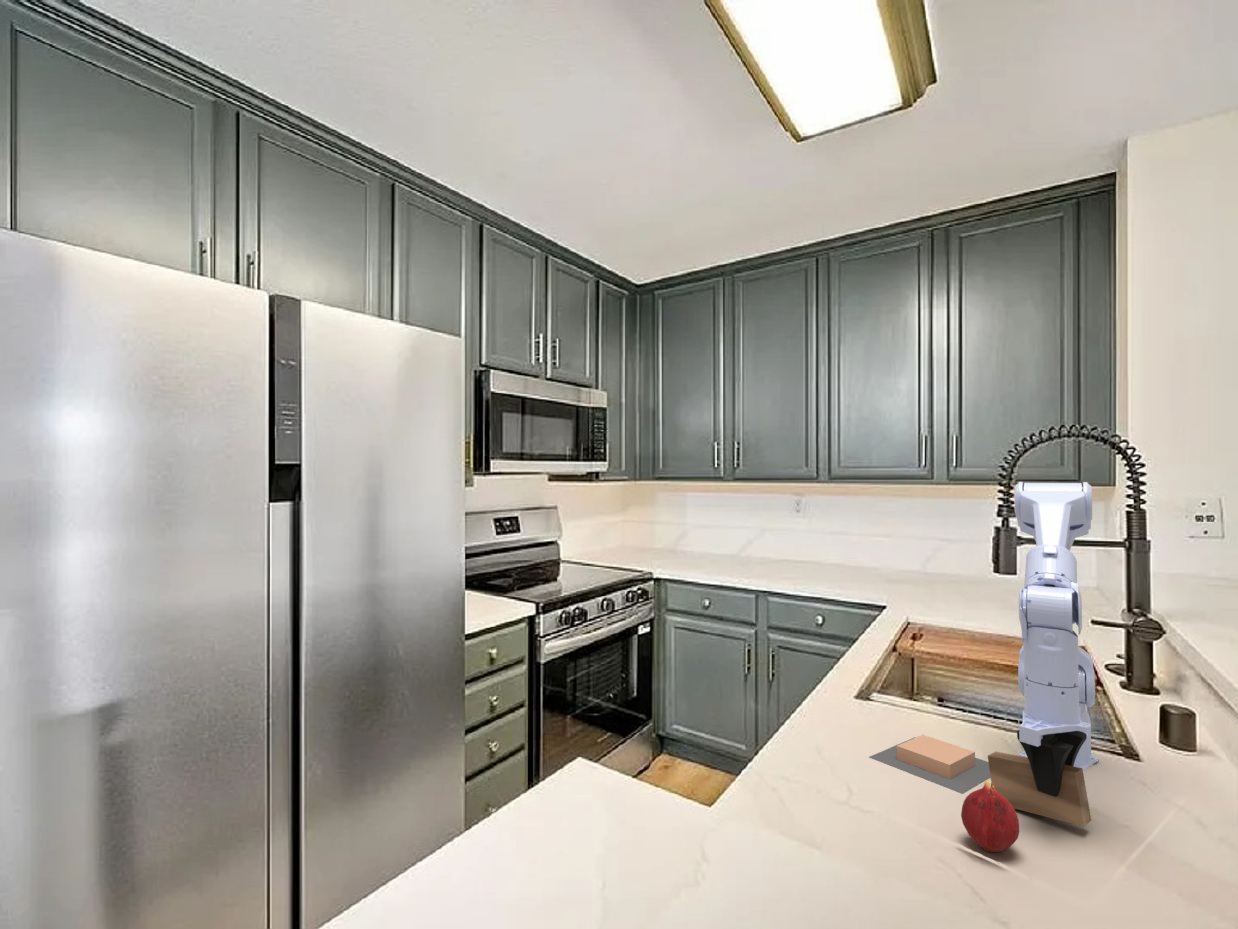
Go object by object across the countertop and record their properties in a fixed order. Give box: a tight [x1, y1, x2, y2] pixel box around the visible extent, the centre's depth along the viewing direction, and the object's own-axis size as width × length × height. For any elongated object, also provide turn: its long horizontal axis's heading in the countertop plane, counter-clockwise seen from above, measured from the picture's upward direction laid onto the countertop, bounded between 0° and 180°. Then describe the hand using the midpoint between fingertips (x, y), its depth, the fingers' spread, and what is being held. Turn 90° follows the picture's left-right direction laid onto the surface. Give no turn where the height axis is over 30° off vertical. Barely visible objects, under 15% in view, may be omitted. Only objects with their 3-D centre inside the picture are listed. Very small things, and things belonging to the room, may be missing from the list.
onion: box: [960, 779, 1020, 853], centre depth 71 cm, size 6×6×8 cm
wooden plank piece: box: [987, 751, 1092, 827], centre depth 78 cm, size 2×10×6 cm, turn 36°
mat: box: [868, 736, 991, 795], centre depth 94 cm, size 14×14×1 cm
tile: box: [897, 734, 976, 779], centre depth 94 cm, size 8×2×8 cm
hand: (1052, 790), depth 77 cm, fingers closed on wooden plank piece, 2 cm apart
